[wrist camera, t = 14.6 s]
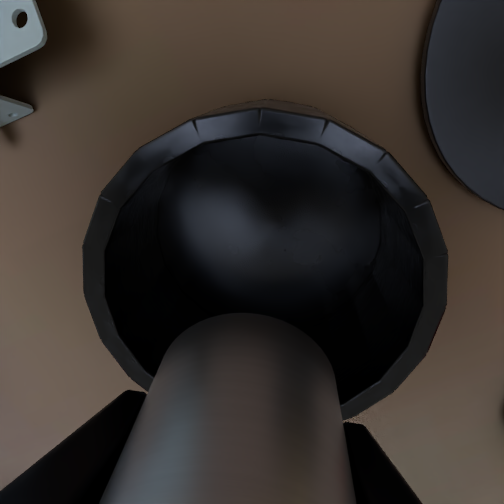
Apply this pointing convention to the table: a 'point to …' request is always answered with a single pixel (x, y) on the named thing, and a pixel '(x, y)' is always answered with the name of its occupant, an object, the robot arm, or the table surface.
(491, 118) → the black disc with peg
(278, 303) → the tin
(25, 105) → the metal bracket
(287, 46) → the table surface
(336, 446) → the socket
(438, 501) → the table surface
